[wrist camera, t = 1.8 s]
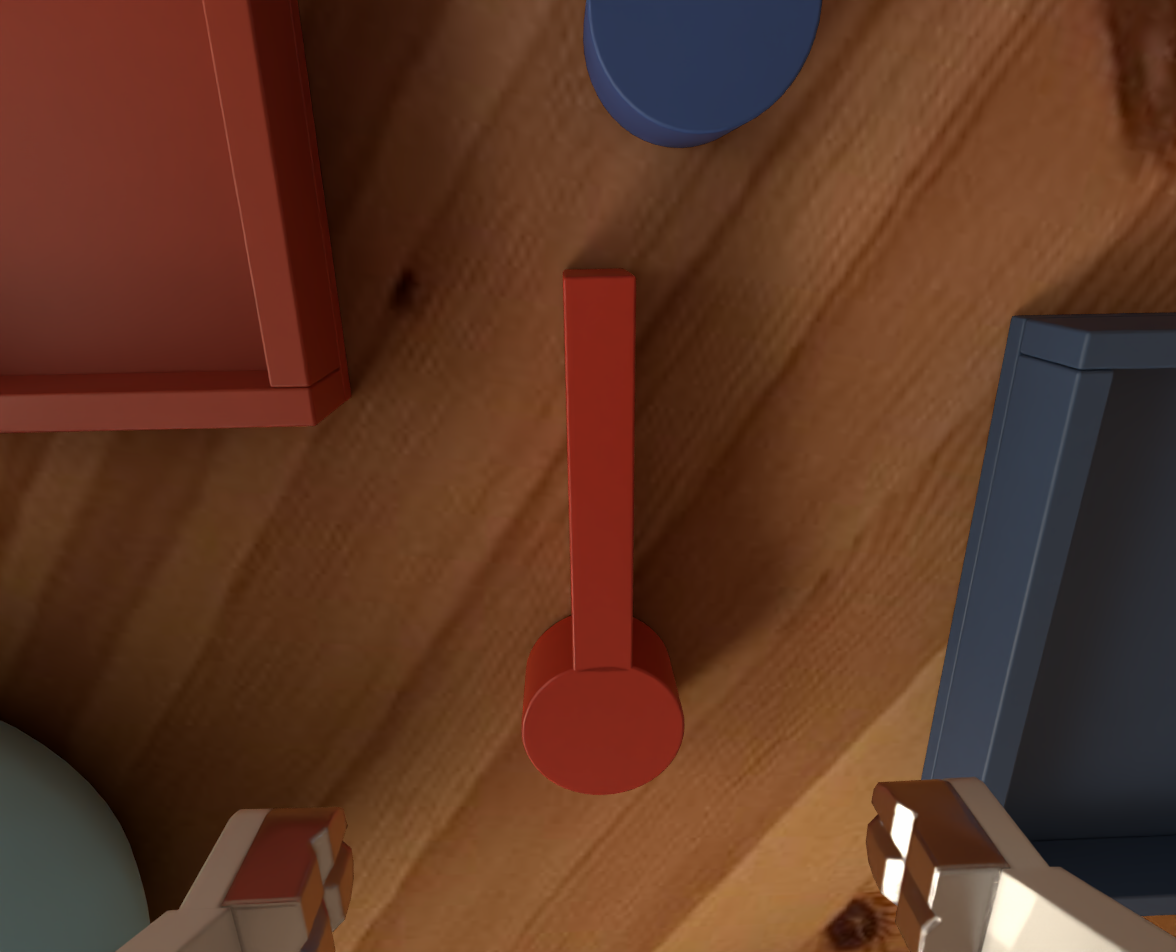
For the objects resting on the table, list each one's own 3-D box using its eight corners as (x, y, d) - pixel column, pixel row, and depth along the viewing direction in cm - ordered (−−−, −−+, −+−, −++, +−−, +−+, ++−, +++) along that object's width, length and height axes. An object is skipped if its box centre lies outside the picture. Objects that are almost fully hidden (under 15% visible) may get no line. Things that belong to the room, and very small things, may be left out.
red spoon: (503, 269, 15) (493, 277, 13) (683, 266, 15) (704, 274, 13) (529, 733, 20) (524, 799, 17) (668, 728, 20) (682, 793, 17)
